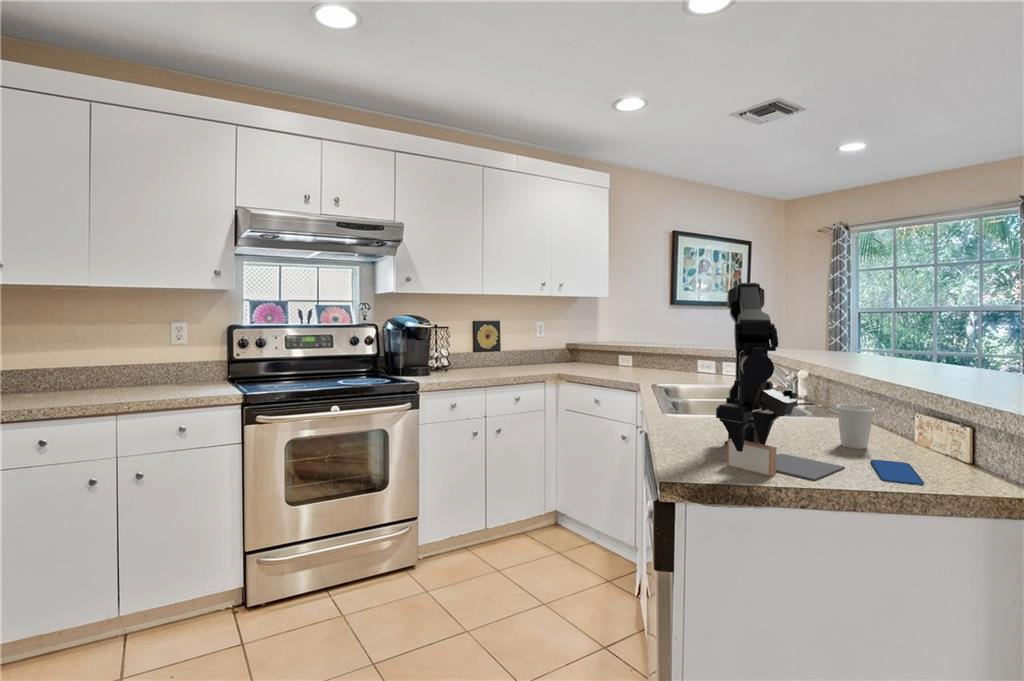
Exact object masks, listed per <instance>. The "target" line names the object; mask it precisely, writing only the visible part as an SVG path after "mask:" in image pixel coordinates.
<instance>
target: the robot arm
mask: <svg viewBox="0 0 1024 681" xmlns="http://www.w3.org/2000/svg"><path fill="white" fill-rule="evenodd" d="M726 298H727V299H726V301H727V302H726V308H727V309H729V316H730V317H731V319H732V320H733V322H734V336H733V338H734V350H735V380H734V382H733V385H732V386H731V388H730V389H729V391H728V397H726V399H725V404H724V403H723V404H719V406H717V407H716V408H715V418H716V419H719V422H722V424H723V426H724V428H725V429H726V431H727V433H728V434H727V440H726V441H724V444H725V445H728V439H732V441H733V444H734V446H735V448H736V450H737V451H739V452H742V451H743V446H744V441H748V442H753V443H758V444H763V445H767V444H766V443H767V441H768V439H769V438H768V437H769V436H770V432H771V429H772V428H773V425H774V422H775V421H777V419H779V418H780V417H785V416H787V415H789V416H790V415H791V414H792V412H793V410H794V408H795V407H798V406H799V404H798V398H797V391H795V390H793V389H785V390H784V391H783V392H782V391H781V390H779V391H778V390H775V389H774V388H773V387H774V385H773V384H774V383H772V380H771V381H770V380H769V379H770V378H772V376H773V374H774V371H775V365H774V363H773V360H772V358H770V357H769V354H768V353H769V352H776V351H777V348H778V347H779V339H778V338H779V336H778V328H776V326H775V323H774V322H773V323H772V322H771V317H770V315H769V314H768V313H766V312H764V311H762V310H763V308H764V306H765V289H763V288H762V287H761V285H760V283H757V282H740V283H737V284H736V286H735V287H732V288H730V289H729V290H727V297H726Z"/></svg>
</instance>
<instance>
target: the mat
mask: <svg viewBox="0 0 1024 681" xmlns="http://www.w3.org/2000/svg"><path fill="white" fill-rule="evenodd" d="M845 468H846V466H843V465H840V464H839V465H838V464H832V463H829V462H823V461H820V460H814V459H810V458H805V457H802V456H801V457H800V456H795V455H791V454H785V453H781V452H780V453H778V454H776V473H779V474H784V475H789V476H792V477H798V478H801V479H804V480H809V481H813V482H815V481H819V480H820V479H824V478H825V477H828V476H831V475H832V474H835V473H837V472H840V471H843V470H845Z"/></svg>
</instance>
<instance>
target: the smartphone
mask: <svg viewBox="0 0 1024 681" xmlns="http://www.w3.org/2000/svg"><path fill="white" fill-rule="evenodd" d="M870 465H871V467H872V468H873V470H874V471H875V473H876V474H877V476H878V477H880V478H879V480H880V481H883V482H886V483H894V482H897V483H896V484H904V483H907V484H906V485H913V484H919V485H918V486H924V485H925V482H924V480H922V478H921V477H920V475H919V474H918V472H916V470H915V469H914V468H913V467H912V465H911V464H910V463H907V462H904V461H893V460H883V459H870ZM923 484H924V485H923Z"/></svg>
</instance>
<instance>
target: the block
mask: <svg viewBox="0 0 1024 681" xmlns="http://www.w3.org/2000/svg"><path fill="white" fill-rule="evenodd" d="M727 441H728V444H727V449H726V450H727V451H726V452H727V453H726V454H727V457H726V458H727V459H726V461H727V462H726V466H727V467H730V466H731V468H734V467H735V469H738V468H739V470H742V471H743V470H744V471H747V472H751V473H755V474H759V475H763V476H767V477H774V476H776V475H777V472H776V455H777V446H772V445H769V444H765V445H763V444H758V443H753V442H748V441H744V446H743V451H742V452H739V451H737V450H736V448H735V446H734V444H733V441H732V439H728V438H727Z"/></svg>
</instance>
